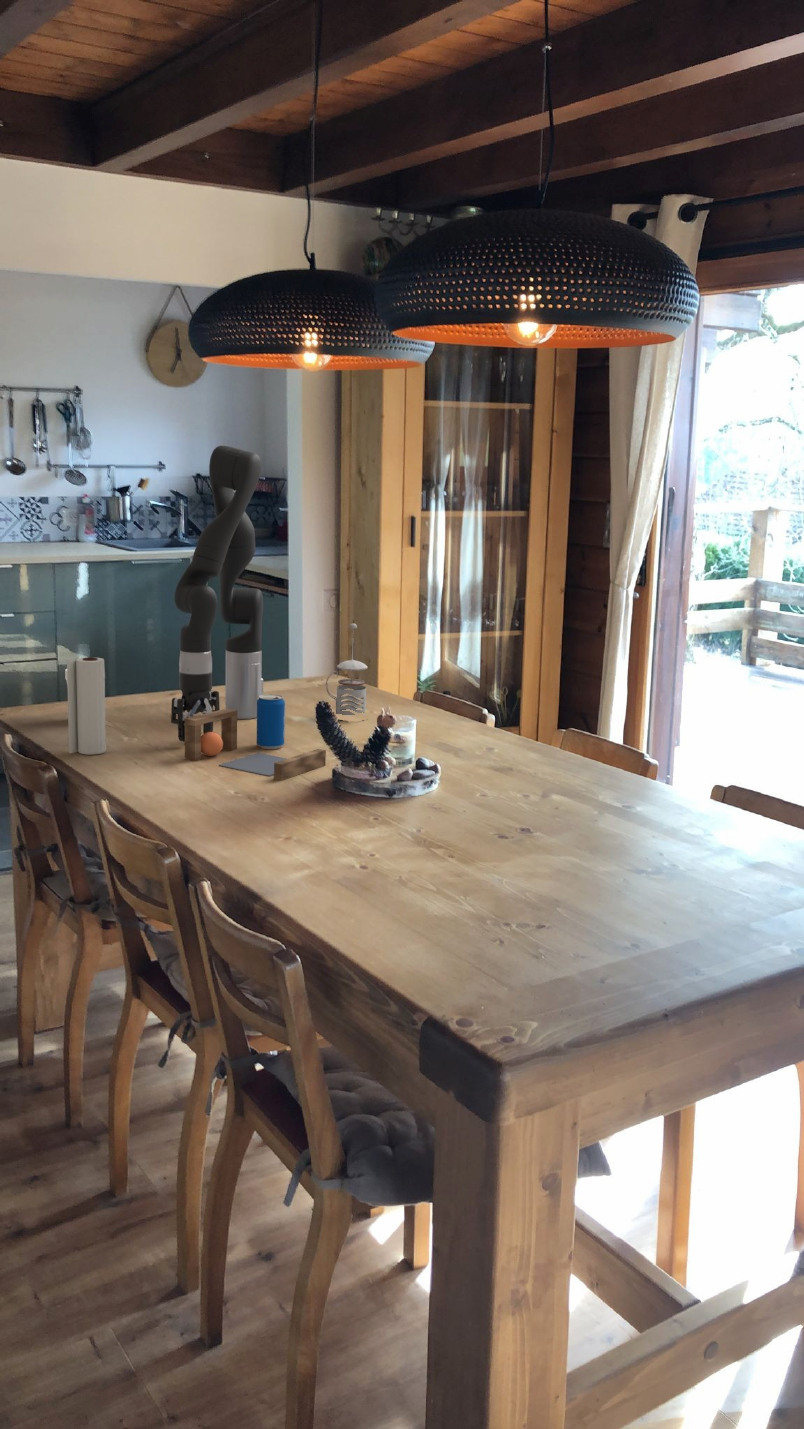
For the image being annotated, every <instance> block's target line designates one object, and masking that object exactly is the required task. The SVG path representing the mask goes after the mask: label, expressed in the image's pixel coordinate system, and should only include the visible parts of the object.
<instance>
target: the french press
mask: <svg viewBox="0 0 804 1429" xmlns="http://www.w3.org/2000/svg"><path fill="white" fill-rule="evenodd" d="M357 628H358V626H357V624H356V623H350V624H349V629H352V633H354V632H355V631H354V629H357ZM351 645H352V646H351V647H352V648H351V649H352V650H351V653H352V654H351V659H350V660H344V661H342V662H340V663H339V664H337V665H336V668H337V669H339V670H343V671H351V672H354V671H366V670H367V669H368V668H369V667H368V666H367V664H365V663H363V662H361V661H359V660H355V659H354V639H352V643H351ZM333 674H336V677H337V678H338V676H339V671H338V670H334V671H332V672H330V673H329V674H328V676H327V677H326V681H325V689H326V690H325V691H326V693H327V695H328V696H329V697H330V698H332V699H334V700H335V714H342V715H355V714H354V713H352V712H350V711H342V710H346V709H350V710H353V711H355V712H357V713H362V712H363V713H365V712H366V713H367V687H366V686H364V685H365V684H366V681H365V680H362V679H358V678H356V679H355V678H353V677H351V678H342V679H339V680H338V681H337V682H338V684H339V685H338V686H337V688H336V696H335V695H333V694H332V693H331V692H330V691H329V687H328V681H329V678H330V677H331V676H332V675H333ZM344 695H345V696H344ZM360 699H361V700H360ZM360 704H361V705H360ZM356 709H359V710H356Z"/></svg>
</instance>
